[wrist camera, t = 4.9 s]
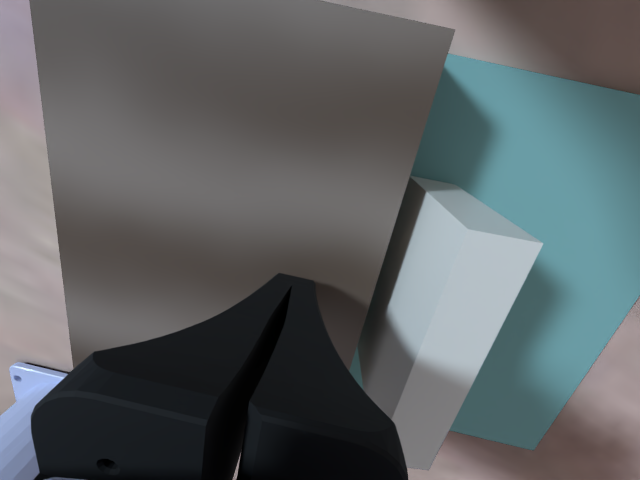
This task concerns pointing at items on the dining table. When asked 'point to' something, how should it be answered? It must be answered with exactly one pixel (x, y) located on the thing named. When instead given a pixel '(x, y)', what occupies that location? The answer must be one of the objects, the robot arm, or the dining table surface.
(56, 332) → the dining table surface
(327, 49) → the grey flat block
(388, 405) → the white block
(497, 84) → the mat
